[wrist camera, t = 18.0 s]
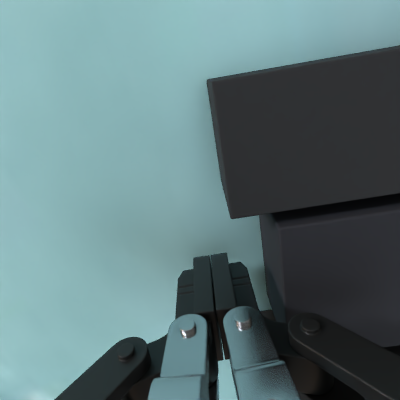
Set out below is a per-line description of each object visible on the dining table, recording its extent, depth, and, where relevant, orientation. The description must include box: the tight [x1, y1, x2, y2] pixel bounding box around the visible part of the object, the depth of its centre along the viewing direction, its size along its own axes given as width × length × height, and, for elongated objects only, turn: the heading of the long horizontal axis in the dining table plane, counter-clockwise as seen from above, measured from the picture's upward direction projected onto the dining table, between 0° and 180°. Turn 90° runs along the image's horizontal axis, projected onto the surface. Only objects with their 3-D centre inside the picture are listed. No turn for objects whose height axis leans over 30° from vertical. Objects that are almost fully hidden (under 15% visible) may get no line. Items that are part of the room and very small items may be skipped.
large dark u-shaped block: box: [207, 46, 400, 356], centre depth 13 cm, size 11×16×4 cm
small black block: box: [259, 193, 400, 347], centre depth 13 cm, size 6×6×4 cm
